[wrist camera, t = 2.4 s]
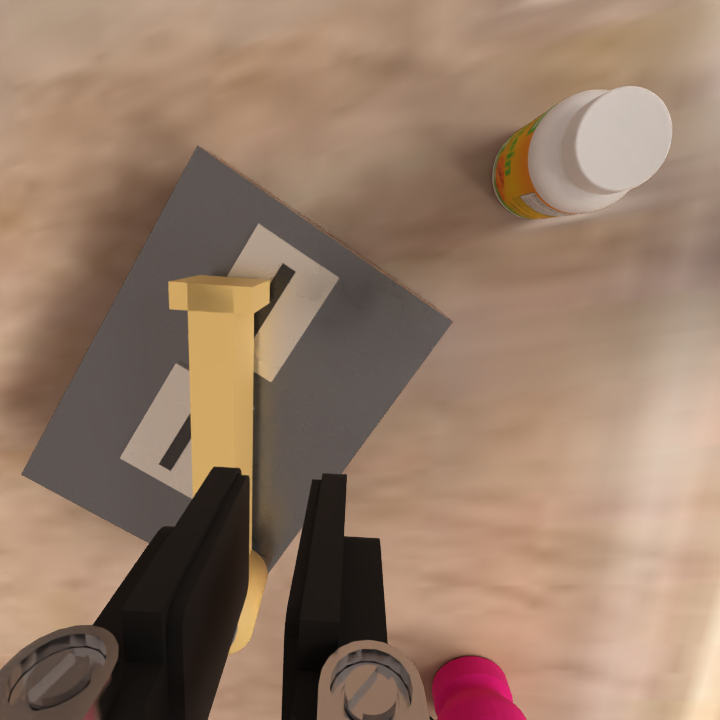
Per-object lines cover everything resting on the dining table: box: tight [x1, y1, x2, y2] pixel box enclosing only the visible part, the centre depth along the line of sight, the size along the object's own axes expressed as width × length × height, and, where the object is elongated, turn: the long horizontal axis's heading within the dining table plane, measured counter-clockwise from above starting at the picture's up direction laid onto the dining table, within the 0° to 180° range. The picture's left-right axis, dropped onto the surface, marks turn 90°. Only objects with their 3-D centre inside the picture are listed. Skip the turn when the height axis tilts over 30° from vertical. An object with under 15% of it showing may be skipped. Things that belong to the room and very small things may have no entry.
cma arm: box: [168, 275, 270, 655], centre depth 24 cm, size 20×4×5 cm, turn 176°
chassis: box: [21, 146, 453, 573], centre depth 28 cm, size 22×16×5 cm
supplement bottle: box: [492, 86, 672, 219], centre depth 23 cm, size 5×5×10 cm
